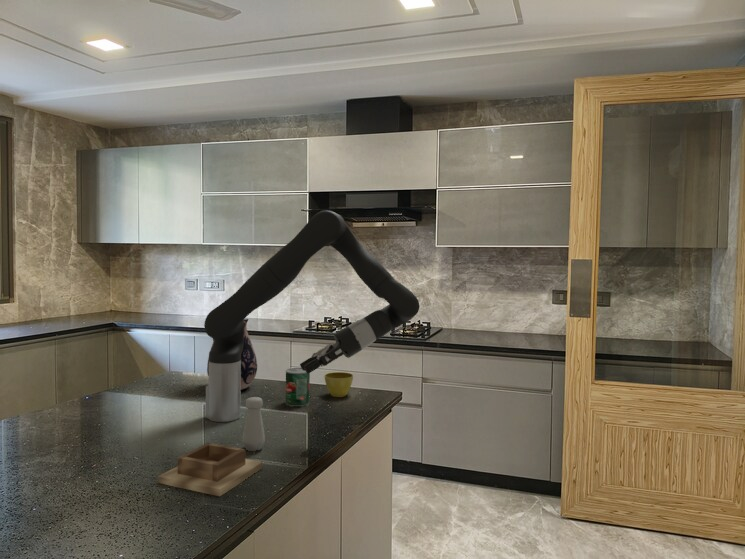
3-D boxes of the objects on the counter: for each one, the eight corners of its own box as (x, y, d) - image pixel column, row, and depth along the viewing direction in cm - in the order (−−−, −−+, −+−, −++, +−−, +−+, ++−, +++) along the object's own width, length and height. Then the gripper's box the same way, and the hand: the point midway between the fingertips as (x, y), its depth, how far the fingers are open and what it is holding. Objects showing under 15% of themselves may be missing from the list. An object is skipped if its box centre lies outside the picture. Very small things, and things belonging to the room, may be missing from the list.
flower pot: (320, 393, 197) (320, 373, 196) (346, 390, 201) (347, 371, 200) (329, 400, 187) (329, 379, 187) (357, 397, 191) (357, 377, 191)
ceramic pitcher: (231, 397, 188) (232, 324, 187) (189, 388, 199) (189, 319, 198) (267, 387, 203) (268, 319, 201) (226, 379, 214) (226, 314, 213)
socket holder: (158, 483, 120) (158, 460, 119) (205, 457, 134) (205, 437, 134) (220, 496, 114) (220, 472, 113) (262, 468, 129) (262, 447, 128)
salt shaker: (259, 453, 138) (260, 402, 137) (238, 451, 139) (238, 400, 138) (268, 445, 144) (269, 396, 143) (247, 443, 145) (248, 394, 144)
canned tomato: (314, 402, 184) (314, 369, 184) (298, 408, 178) (299, 374, 177) (295, 398, 188) (296, 366, 188) (280, 404, 182) (280, 370, 181)
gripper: (343, 325, 157) (293, 355, 153) (354, 325, 144) (299, 358, 140) (356, 348, 158) (306, 378, 154) (368, 350, 144) (314, 384, 140)
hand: (303, 369), depth 147 cm, fingers open, 8 cm apart
